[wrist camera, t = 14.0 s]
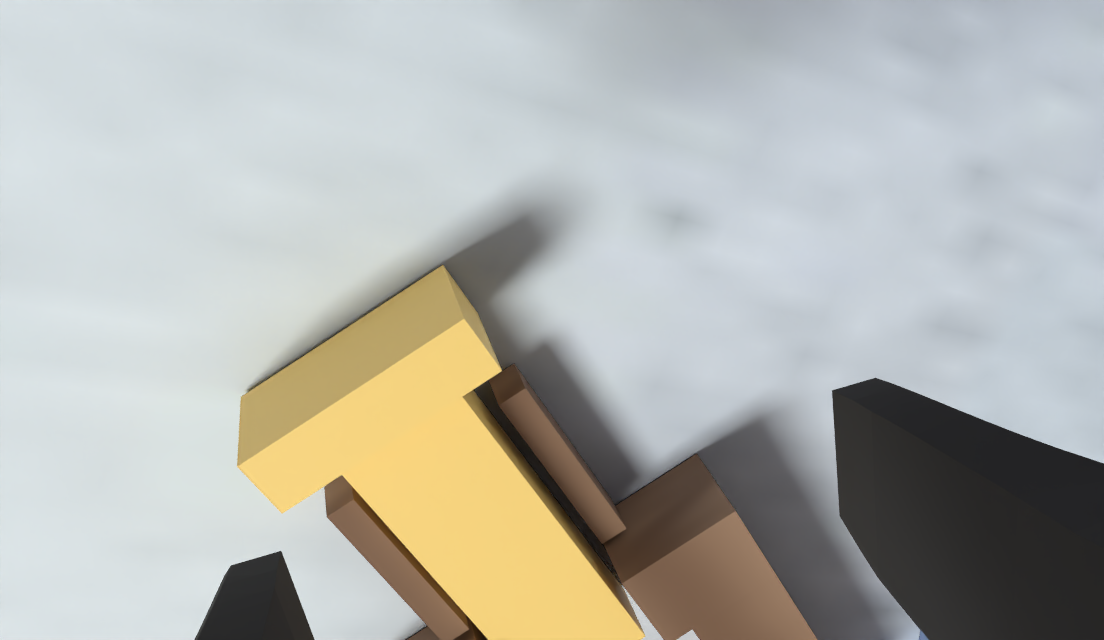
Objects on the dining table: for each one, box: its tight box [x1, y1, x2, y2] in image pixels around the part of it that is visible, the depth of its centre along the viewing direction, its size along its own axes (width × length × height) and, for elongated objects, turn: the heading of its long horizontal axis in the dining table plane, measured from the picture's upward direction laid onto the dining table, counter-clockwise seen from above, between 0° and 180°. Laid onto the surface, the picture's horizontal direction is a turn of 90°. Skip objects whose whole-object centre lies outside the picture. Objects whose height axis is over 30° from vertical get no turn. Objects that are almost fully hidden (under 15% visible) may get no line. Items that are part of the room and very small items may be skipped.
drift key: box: [237, 265, 645, 640], centre depth 24 cm, size 5×10×3 cm, turn 30°
